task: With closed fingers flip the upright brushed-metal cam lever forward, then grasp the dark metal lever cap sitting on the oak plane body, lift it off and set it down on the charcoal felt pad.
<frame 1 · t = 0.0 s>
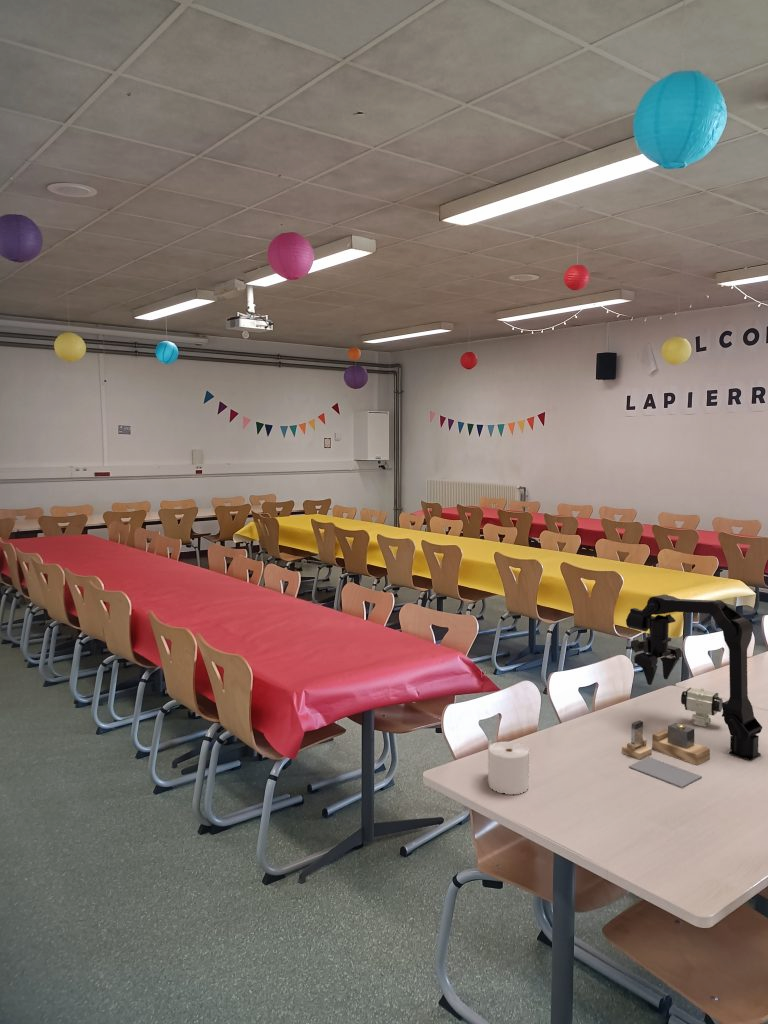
hand: (657, 681, 232), 15 cm above the table, fingers open, 9 cm apart
lever cap: (680, 743, 211), point 3 cm above the table, touching plane body
felt pad: (664, 772, 199), on the table
lever mount: (636, 753, 212), on the table
pneumatic valve: (700, 725, 233), on the table
plane body: (680, 753, 211), on the table
lever: (637, 734, 211), point 6 cm above the table, hinge at 0.0°
toilet tissue: (506, 785, 192), on the table
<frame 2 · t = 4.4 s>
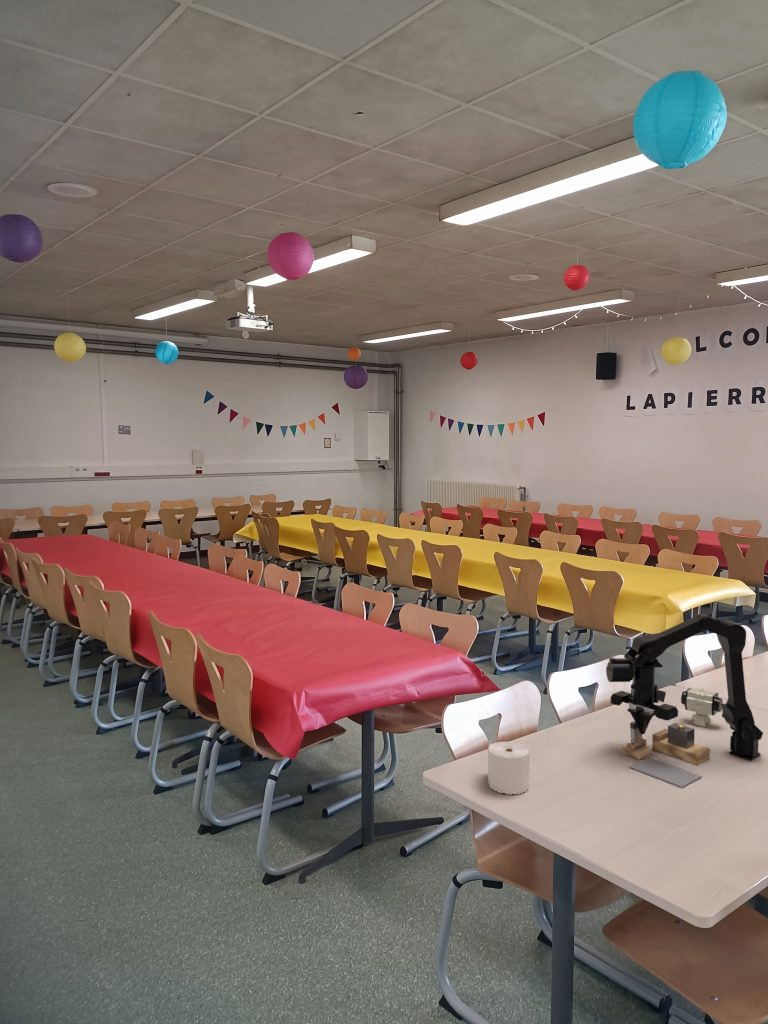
hand: (642, 733, 209), 7 cm above the table, fingers closed
lever: (636, 734, 211), point 6 cm above the table, hinge at 3.9°, touching gripper
everything else where it was.
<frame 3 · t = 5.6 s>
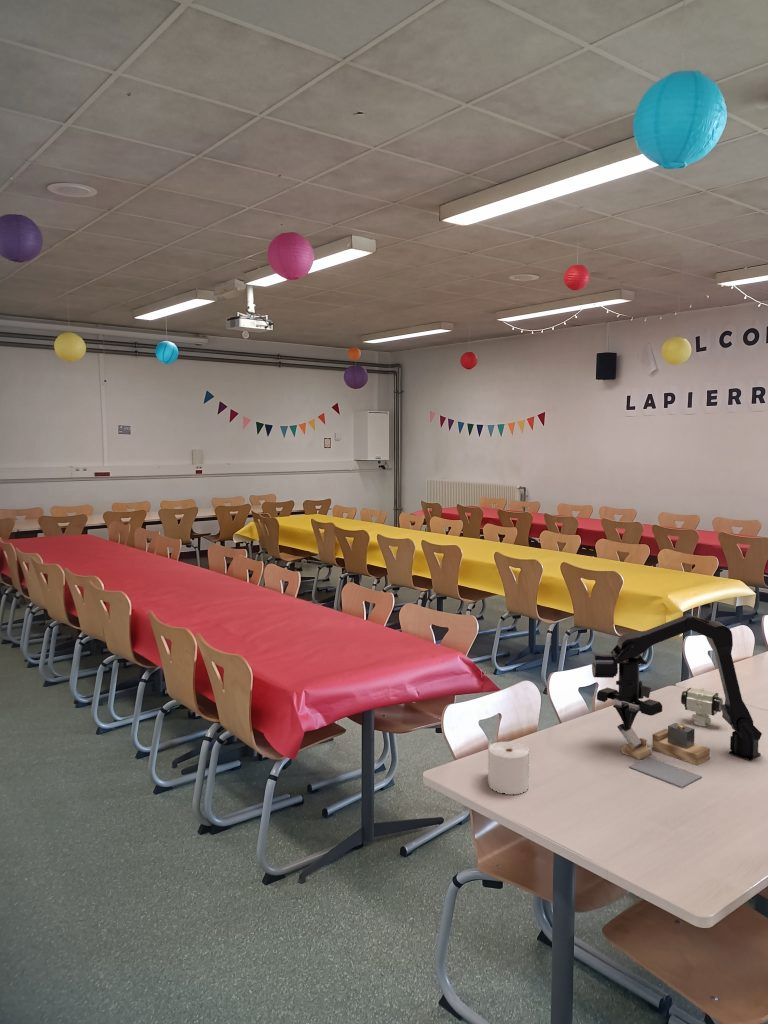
hand: (628, 729, 213), 6 cm above the table, fingers closed
lever: (630, 735, 213), point 5 cm above the table, hinge at 45.3°, touching gripper
everything else where it was.
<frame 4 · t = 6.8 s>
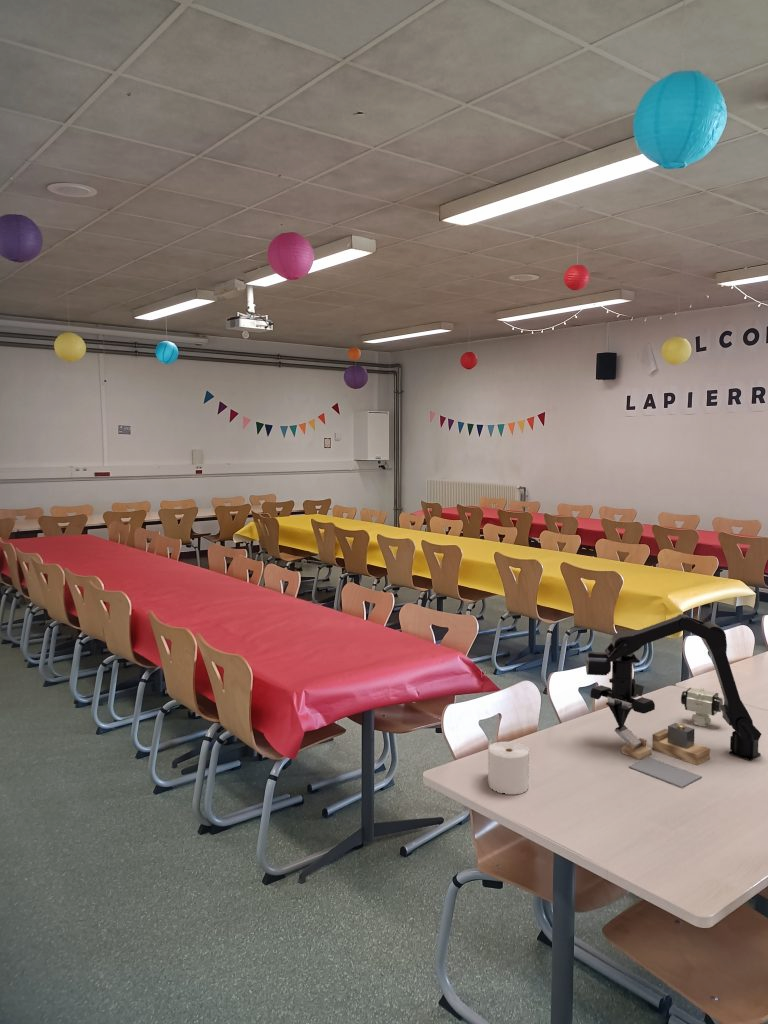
hand: (621, 726, 215), 7 cm above the table, fingers closed
lever: (628, 737, 213), point 4 cm above the table, hinge at 59.6°, touching gripper
everything else where it was.
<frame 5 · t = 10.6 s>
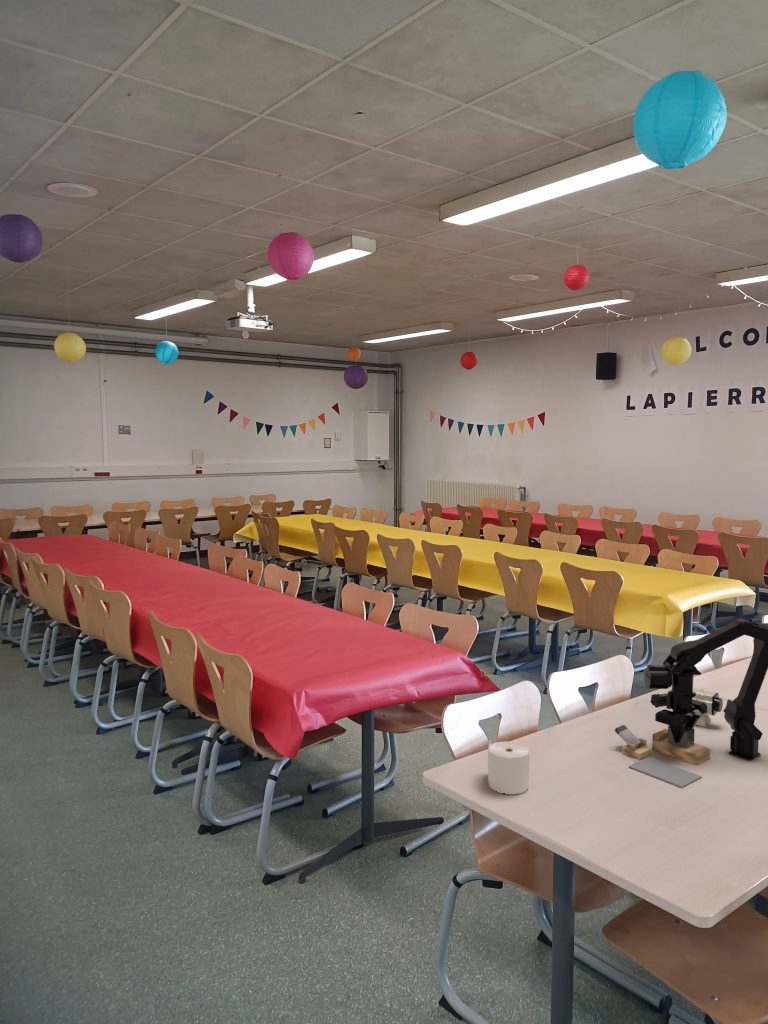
hand: (680, 740, 211), 4 cm above the table, fingers closed on lever cap, 4 cm apart
lever cap: (680, 743, 211), point 3 cm above the table, touching gripper, plane body
lever: (628, 737, 213), point 4 cm above the table, hinge at 59.6°
everything else where it was.
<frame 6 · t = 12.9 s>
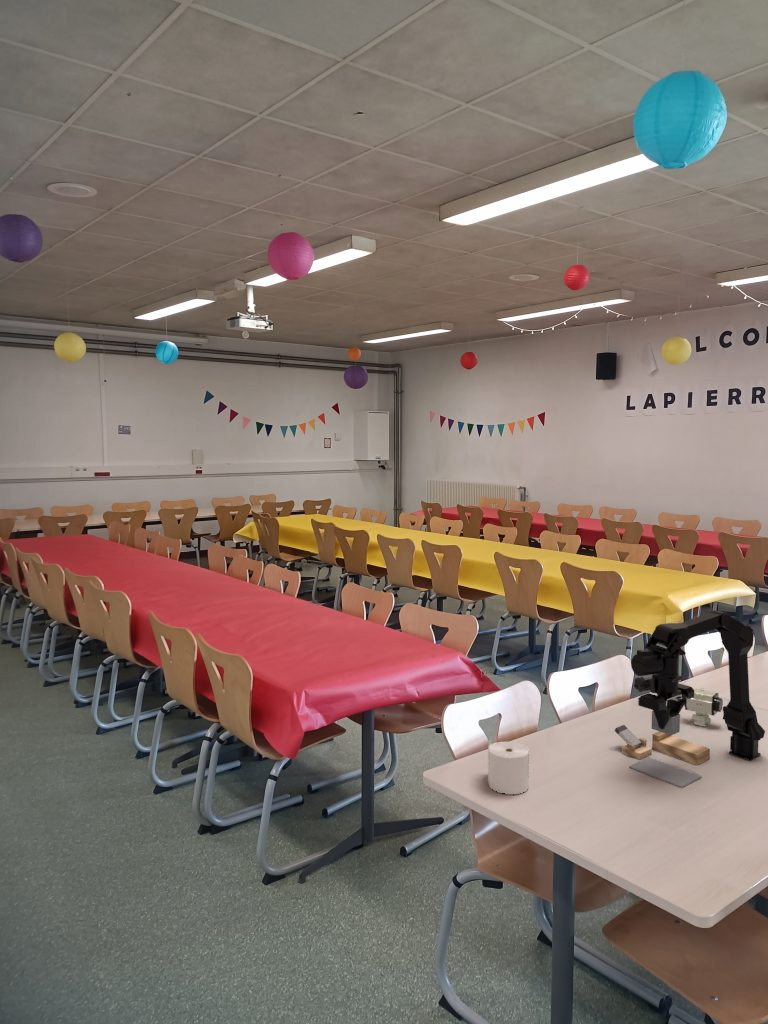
hand: (665, 726, 198), 13 cm above the table, fingers closed on lever cap, 4 cm apart
lever cap: (665, 730, 198), point 12 cm above the table, touching gripper
everything else where it was.
when the fingers open (3 cm above the table, at t = 15.0 s): lever cap drops 2 cm, resting on felt pad.
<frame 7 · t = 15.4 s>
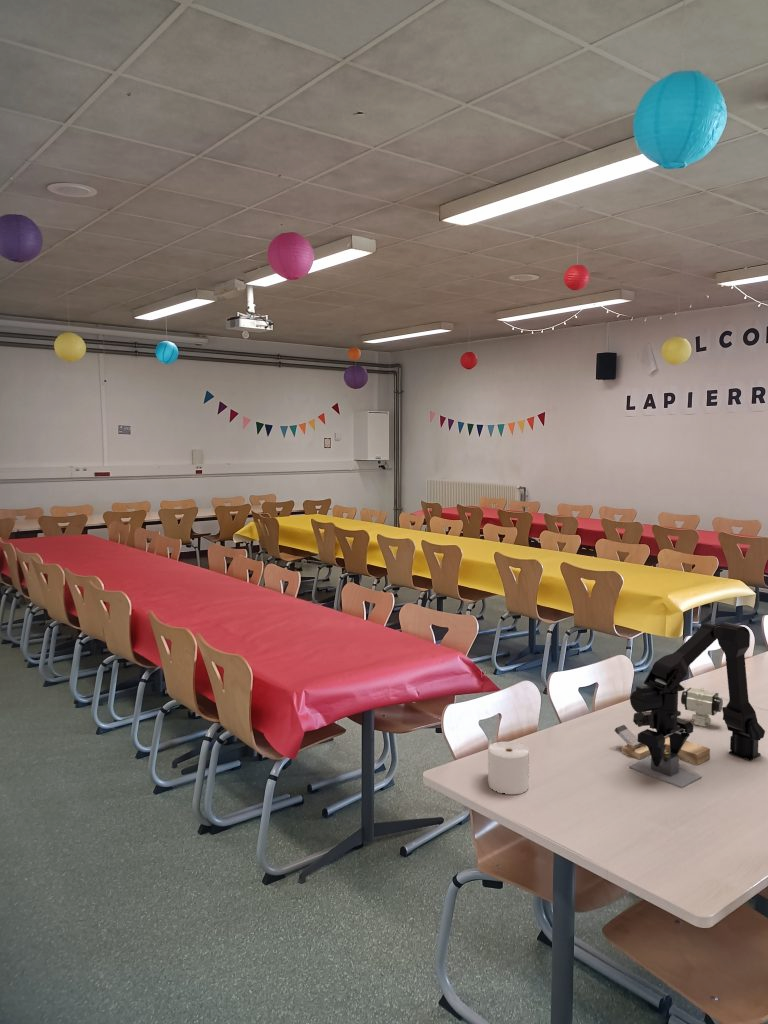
hand: (665, 762, 199), 3 cm above the table, fingers open, 8 cm apart
lever cap: (664, 770, 199), resting on felt pad
everything else where it was.
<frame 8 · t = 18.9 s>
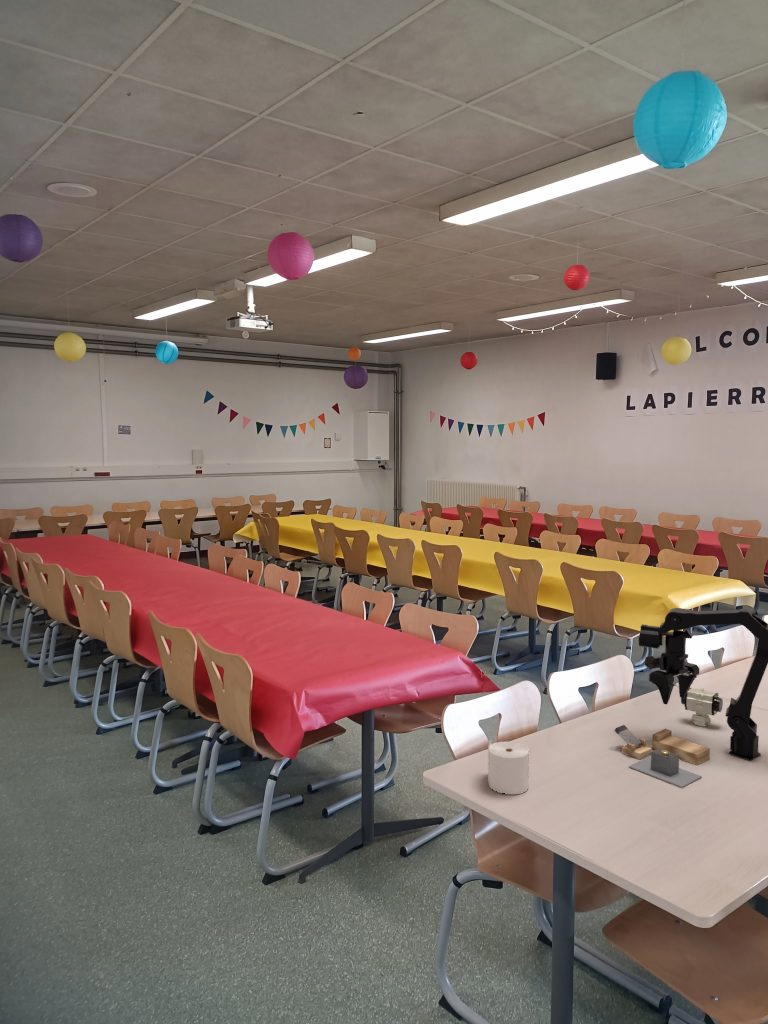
hand: (673, 700, 219), 13 cm above the table, fingers open, 9 cm apart
nothing on the table moved.
at the end: lever at +60° (first picture: +0°); lever cap 0.1 cm from the felt pad (horizontally); lever cap resting on felt pad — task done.
